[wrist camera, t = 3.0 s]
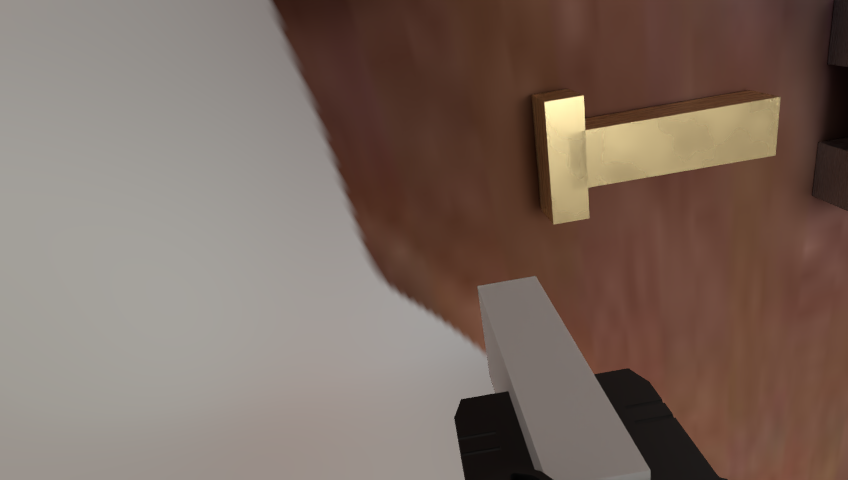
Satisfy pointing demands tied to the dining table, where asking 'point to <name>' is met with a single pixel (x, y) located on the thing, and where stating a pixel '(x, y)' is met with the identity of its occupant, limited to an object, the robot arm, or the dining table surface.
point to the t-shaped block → (642, 142)
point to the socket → (841, 158)
